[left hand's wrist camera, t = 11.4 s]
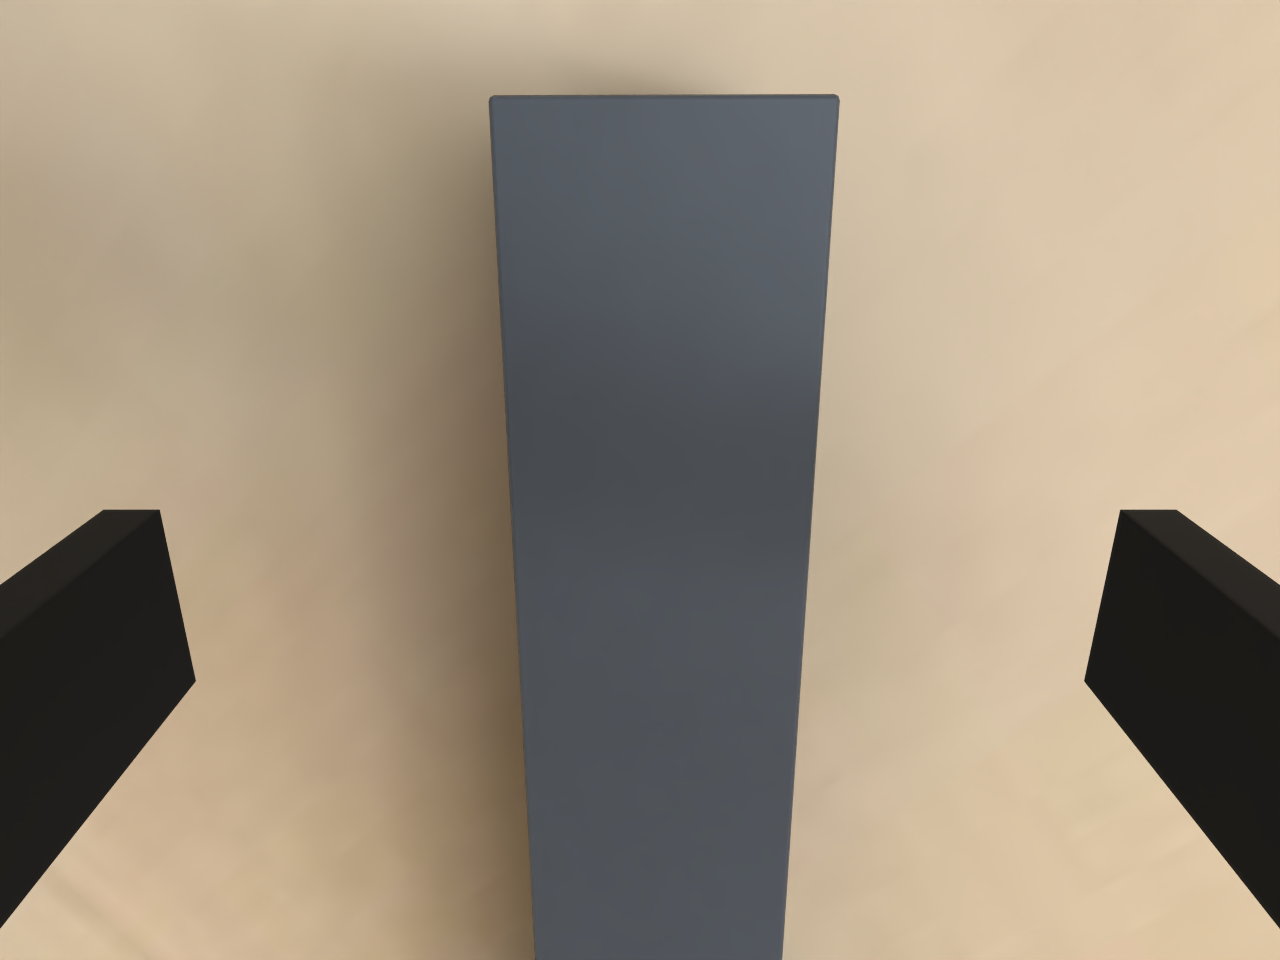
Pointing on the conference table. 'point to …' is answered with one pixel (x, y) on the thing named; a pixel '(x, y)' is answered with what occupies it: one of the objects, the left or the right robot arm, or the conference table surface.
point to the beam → (661, 502)
